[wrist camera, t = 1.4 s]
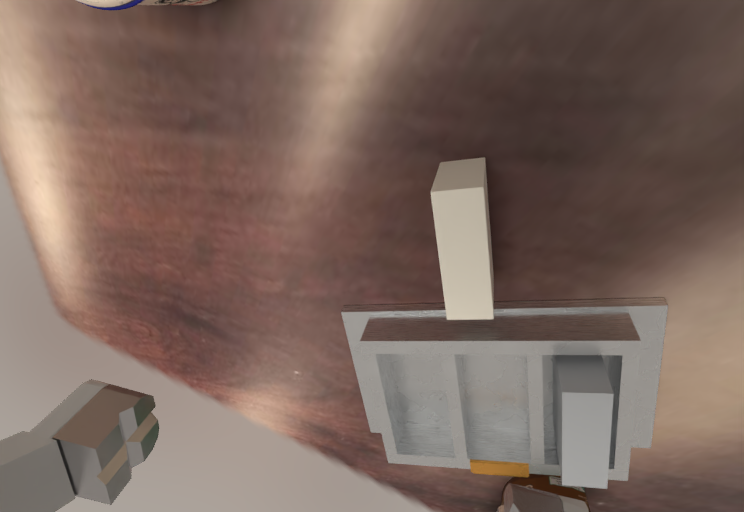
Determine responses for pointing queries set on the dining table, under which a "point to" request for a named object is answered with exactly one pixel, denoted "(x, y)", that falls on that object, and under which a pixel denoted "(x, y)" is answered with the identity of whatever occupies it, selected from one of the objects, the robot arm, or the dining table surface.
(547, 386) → the rack
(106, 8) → the teacup with lid
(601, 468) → the gray rectangular block
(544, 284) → the dining table surface
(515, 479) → the food container
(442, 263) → the beige rectangular block
